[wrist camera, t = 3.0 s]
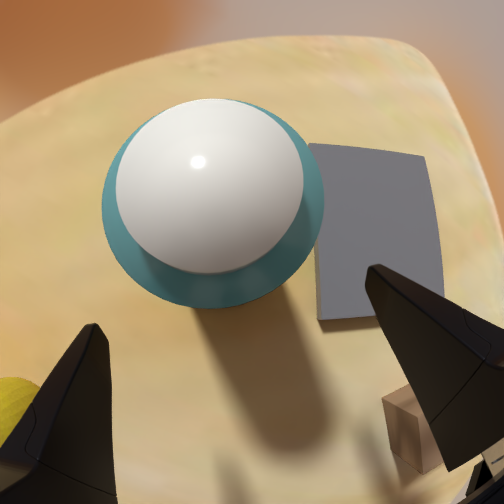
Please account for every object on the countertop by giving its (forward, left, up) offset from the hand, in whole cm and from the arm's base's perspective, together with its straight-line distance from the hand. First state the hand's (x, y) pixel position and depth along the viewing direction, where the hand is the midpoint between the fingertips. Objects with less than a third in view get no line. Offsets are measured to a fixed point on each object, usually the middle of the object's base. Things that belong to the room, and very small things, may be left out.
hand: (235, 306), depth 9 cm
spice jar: (+3, +1, -10) cm, 10 cm away
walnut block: (-9, -13, -10) cm, 19 cm away
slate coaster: (+5, -10, -10) cm, 15 cm away
